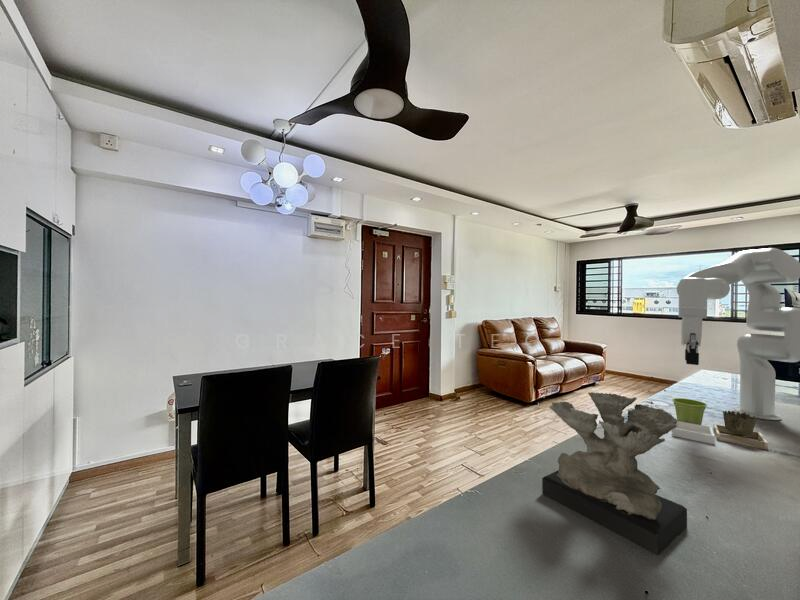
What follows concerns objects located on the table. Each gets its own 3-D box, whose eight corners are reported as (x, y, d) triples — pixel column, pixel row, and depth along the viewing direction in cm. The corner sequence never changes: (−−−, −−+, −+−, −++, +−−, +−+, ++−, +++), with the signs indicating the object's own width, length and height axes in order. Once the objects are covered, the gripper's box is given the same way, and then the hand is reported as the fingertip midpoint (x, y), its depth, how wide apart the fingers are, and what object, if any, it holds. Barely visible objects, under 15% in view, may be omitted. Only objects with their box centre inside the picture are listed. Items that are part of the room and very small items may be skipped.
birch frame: (713, 429, 116) (713, 423, 116) (760, 438, 109) (760, 432, 109) (717, 439, 107) (717, 433, 107) (767, 449, 100) (768, 442, 100)
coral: (527, 486, 78) (529, 392, 78) (578, 464, 88) (580, 382, 88) (655, 557, 56) (658, 428, 56) (701, 518, 67) (703, 409, 67)
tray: (672, 427, 117) (672, 419, 117) (711, 434, 111) (711, 427, 111) (672, 435, 109) (672, 428, 109) (714, 444, 103) (714, 436, 103)
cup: (762, 445, 103) (762, 418, 103) (733, 442, 105) (734, 416, 105) (743, 435, 111) (743, 411, 111) (716, 433, 112) (717, 409, 112)
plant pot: (665, 423, 120) (666, 399, 120) (680, 420, 124) (681, 396, 124) (697, 433, 112) (698, 407, 112) (712, 429, 116) (713, 404, 116)
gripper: (678, 312, 127) (677, 358, 127) (679, 313, 114) (678, 364, 114) (704, 313, 123) (704, 360, 123) (709, 314, 109) (708, 367, 109)
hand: (691, 362), depth 118 cm, fingers open, 9 cm apart
